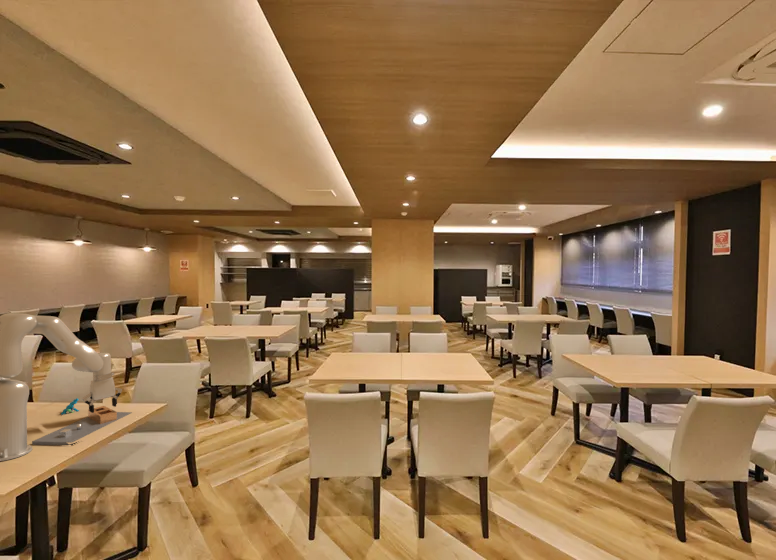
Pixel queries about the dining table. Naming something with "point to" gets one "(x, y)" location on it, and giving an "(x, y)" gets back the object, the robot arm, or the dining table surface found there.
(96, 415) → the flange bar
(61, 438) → the board
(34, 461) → the dining table surface
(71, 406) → the blue branched piece
